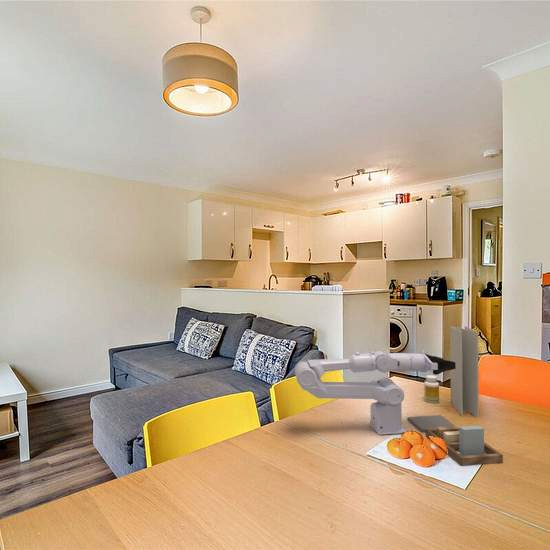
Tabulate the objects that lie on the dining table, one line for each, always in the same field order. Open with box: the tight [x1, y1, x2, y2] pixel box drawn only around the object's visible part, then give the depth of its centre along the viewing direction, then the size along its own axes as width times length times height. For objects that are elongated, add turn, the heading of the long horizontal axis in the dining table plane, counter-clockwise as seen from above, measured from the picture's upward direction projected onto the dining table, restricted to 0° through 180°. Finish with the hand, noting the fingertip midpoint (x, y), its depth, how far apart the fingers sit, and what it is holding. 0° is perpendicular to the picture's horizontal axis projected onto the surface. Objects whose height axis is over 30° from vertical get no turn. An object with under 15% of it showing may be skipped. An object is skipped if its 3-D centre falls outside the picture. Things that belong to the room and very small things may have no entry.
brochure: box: [449, 325, 480, 418], centre depth 135 cm, size 14×6×30 cm, turn 168°
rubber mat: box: [407, 414, 456, 434], centre depth 122 cm, size 12×10×1 cm
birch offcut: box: [443, 431, 459, 443], centre depth 107 cm, size 8×2×4 cm, turn 96°
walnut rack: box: [425, 428, 504, 467], centre depth 106 cm, size 12×18×2 cm, turn 6°
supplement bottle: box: [423, 374, 440, 404], centre depth 144 cm, size 5×5×10 cm
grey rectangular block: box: [458, 425, 485, 456], centre depth 101 cm, size 6×2×8 cm, turn 96°
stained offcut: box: [437, 425, 464, 439], centre depth 111 cm, size 8×2×4 cm, turn 96°
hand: (448, 363), depth 120 cm, fingers open, 7 cm apart
